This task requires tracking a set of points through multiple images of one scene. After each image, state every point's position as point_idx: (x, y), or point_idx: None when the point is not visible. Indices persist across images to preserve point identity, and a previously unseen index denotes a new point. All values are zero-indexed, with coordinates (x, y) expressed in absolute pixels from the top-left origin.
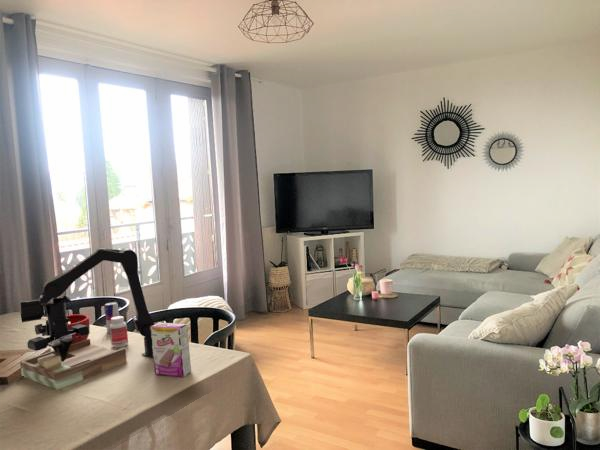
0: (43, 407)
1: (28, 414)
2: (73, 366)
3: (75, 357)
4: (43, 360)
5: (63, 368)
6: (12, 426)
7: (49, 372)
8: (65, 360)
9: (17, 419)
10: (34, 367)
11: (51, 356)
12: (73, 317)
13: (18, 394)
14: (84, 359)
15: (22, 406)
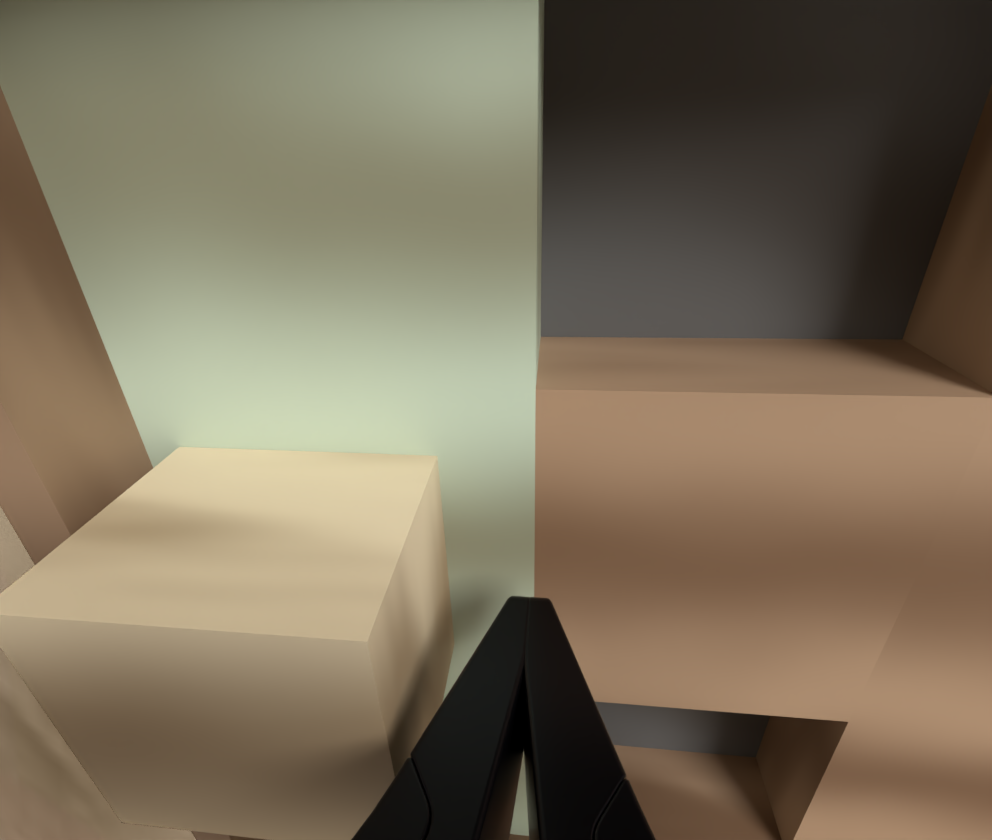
0: None
1: (82, 814)
2: (589, 686)
3: (887, 479)
4: (96, 777)
5: (456, 677)
6: (5, 836)
7: (195, 836)
8: (686, 441)
9: (26, 810)
10: (36, 546)
11: (277, 753)
12: None
13: (14, 546)
14: (835, 672)
15: (50, 729)
